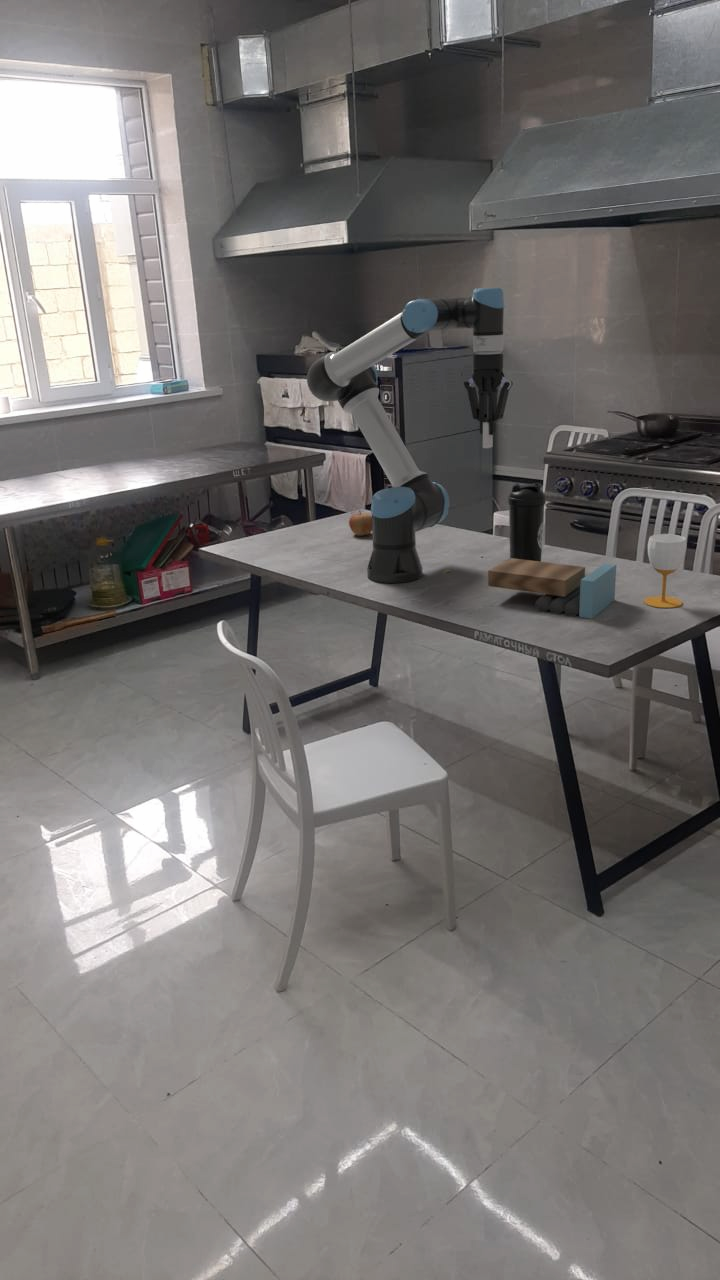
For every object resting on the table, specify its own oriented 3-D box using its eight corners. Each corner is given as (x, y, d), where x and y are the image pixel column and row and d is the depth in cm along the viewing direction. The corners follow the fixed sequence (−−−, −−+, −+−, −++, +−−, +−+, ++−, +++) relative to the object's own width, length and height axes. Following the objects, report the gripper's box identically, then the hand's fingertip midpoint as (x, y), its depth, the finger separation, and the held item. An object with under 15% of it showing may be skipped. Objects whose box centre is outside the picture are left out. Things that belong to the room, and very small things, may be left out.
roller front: (577, 617, 227) (578, 603, 226) (563, 614, 229) (564, 601, 227) (600, 599, 239) (602, 586, 238) (587, 596, 241) (588, 583, 240)
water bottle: (543, 571, 263) (545, 487, 255) (505, 570, 265) (507, 487, 258) (544, 561, 273) (546, 480, 265) (507, 561, 275) (509, 480, 267)
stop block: (579, 616, 226) (580, 579, 223) (602, 598, 239) (604, 563, 236) (591, 618, 225) (593, 581, 222) (614, 599, 237) (616, 564, 234)
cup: (676, 610, 228) (681, 544, 223) (638, 605, 233) (642, 540, 227) (686, 600, 235) (692, 535, 230) (649, 595, 240) (653, 532, 234)
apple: (347, 538, 308) (346, 513, 305) (351, 532, 315) (350, 507, 312) (372, 538, 306) (371, 513, 304) (376, 532, 314) (375, 507, 311)
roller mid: (547, 610, 230) (560, 616, 229) (552, 597, 229) (565, 604, 227) (572, 592, 243) (584, 598, 242) (576, 580, 241) (589, 586, 240)
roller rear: (543, 595, 230) (532, 602, 232) (551, 608, 230) (540, 614, 232) (568, 578, 242) (558, 585, 244) (576, 590, 242) (565, 596, 244)
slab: (488, 586, 239) (488, 570, 238) (510, 573, 249) (510, 558, 248) (564, 596, 229) (565, 580, 227) (584, 582, 239) (585, 567, 237)
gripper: (458, 354, 243) (458, 448, 251) (505, 353, 236) (504, 450, 244) (472, 351, 249) (472, 444, 257) (518, 351, 242) (516, 446, 250)
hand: (487, 447), depth 251 cm, fingers closed
